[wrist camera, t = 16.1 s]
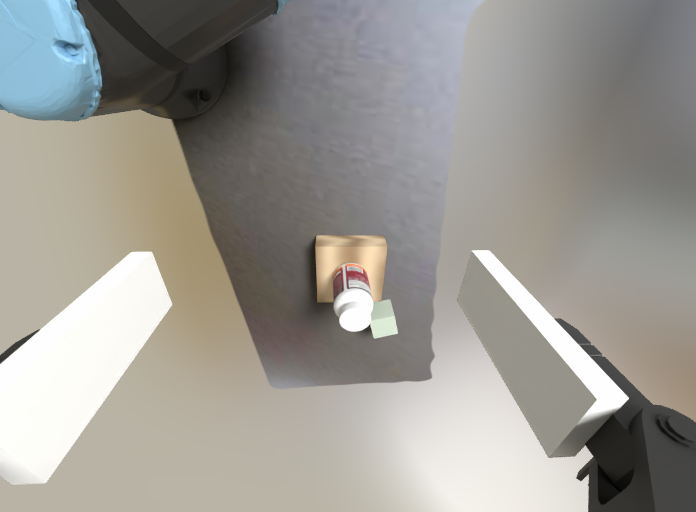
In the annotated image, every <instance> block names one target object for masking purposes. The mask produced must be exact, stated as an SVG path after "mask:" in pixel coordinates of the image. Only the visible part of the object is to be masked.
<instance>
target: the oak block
mask: <svg viewBox="0 0 696 512" xmlns="http://www.w3.org/2000/svg"><path fill="white" fill-rule="evenodd" d="M315 249H316V276H317V302H334V300H333V274H334V272H335V270H336V269H337V268H338V267H339V266H341V265H343V264H346V263H356V264H359V265H361V266H362V267H363V268H364V269H365V270H366V272H367V275H368V280H369V284H370V289H371V294H372V299H373V302H381V297H382V288H383V280H384V271H385V263H386V254H387V244H386V241H385V238H384V236H316V246H315Z"/></svg>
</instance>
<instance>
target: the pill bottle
mask: <svg viewBox="0 0 696 512" xmlns="http://www.w3.org/2000/svg"><path fill="white" fill-rule="evenodd" d="M333 300H334V311H335V313H336V315H337V316H338V317H339V322H340V325H341V326H342V327H343V328H344V329H346V330H348V331H353V332H355V331H361V330H363V329H365V328H366V327H368V326H369V324H370V322H371V312H372V310H373V299H372V294H371V289H370V284H369V280H368V275H367V272H366V270H365V269H364V268H363V267H362V266H361V265H359V264H356V263H346V264H343V265H341V266H339V267H338V268H337V269H336V270H335V272H334V274H333Z"/></svg>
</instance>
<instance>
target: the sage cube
mask: <svg viewBox="0 0 696 512" xmlns="http://www.w3.org/2000/svg"><path fill="white" fill-rule="evenodd" d="M370 326H371V329H372V333H373V337H374V338H379V337H383V336H388V335H393V334H398V330H397V326H396V321H395V316H394V312H393V309H392V305H391V301H390V299H389V300H384V301H381V302H375V303H373V310H372V312H371V322H370Z"/></svg>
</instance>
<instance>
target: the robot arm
mask: <svg viewBox="0 0 696 512" xmlns="http://www.w3.org/2000/svg"><path fill="white" fill-rule="evenodd" d="M290 1H291V0H0V109H1V110H5V111H7V112H9V113H13V114H15V115H17V116H20V117H24V118H28V119H34V120H64V121H79V120H81V119H87V118H88V117H91V116H98V115H105V114H111V113H118V112H125V111H131V110H138V109H141V110H143V111H145V112H147V113H150V114H152V115H155V116H159V117H163V118H168V119H185V118H190V117H194V116H197V115H200V114H202V113H204V112H206V111H207V110H209V109H210V108H211V107H212V106H213V105H214V104H215V103H216V102H217V101H218V99H219V98H220V96H221V94H222V92H223V90H224V87H225V84H226V79H227V70H228V62H227V53H226V47H225V43H227V42H229V41H230V40H232V39H233V38H235V37H236V36H238V35H240V34H241V33H243V32H244V31H246V30H247V29H249V28H251V27H252V26H254V25H255V24H257V23H258V22H260V21H262V20H263V19H265V18H266V17H268V16H269V15H271V14H273V15H277V14H279V13H280V11H281V10H282V9H283V7H284V5H285V4H287V3H288V2H290ZM457 301H458V303H459V305H460V306H461V308H462V310H463V312H464V313H465V315H466V317H467V318H468V320H469V322H470V324H471V325H472V327H473V329H474V330H475V332H476V334H477V335H478V337H479V339H480V341H481V343H482V344H483V346H484V348H485V349H486V351H487V353H488V354H489V356H490V358H491V360H492V361H493V363H494V365H495V366H496V368H497V370H498V372H499V373H500V375H501V377H502V379H503V380H504V382H505V384H506V385H507V387H508V389H509V391H510V392H511V394H512V396H513V397H514V399H515V401H516V403H517V404H518V406H519V407H520V409H521V411H522V413H523V415H524V416H525V418H526V420H527V421H528V423H529V425H530V427H531V428H532V430H533V432H534V433H535V435H536V437H537V439H538V440H539V442H540V444H541V446H542V447H543V449H544V451H545V452H546V454H547V456H548V457H549V458H552V457H571V456H575V455H576V454H577V453H578V452H579V451H580V450H581V449H582V448H583V447H584V446H585V445H586V446H587V448H588V449H589V451H590V452H591V454H592V455H593V456H594V457H593V458H592V459H591V460H590V461H589V462H588V463H587V464H586V465H585V466H584V467H583V468H582V469H581V470H580V471H579V472H578V475H577V479H578V480H580V481H582V480H583V479H584V478H585V477H586V476H587V475H588V474H589V484H588V486H589V503H588V504H589V505H588V512H696V423H695V422H694V421H693V420H691V419H690V418H688V417H686V416H685V415H683V414H681V413H679V412H677V411H675V410H673V409H670V408H667V407H664V406H661V405H653V404H652V403H651V402H650V401H649V400H647V399H646V398H645V397H644V396H643V395H642V394H641V393H640V392H639V391H638V390H637V389H636V388H635V387H634V386H633V385H632V384H631V383H630V382H629V381H628V380H627V379H626V378H625V377H624V376H623V375H622V374H621V373H620V372H619V371H618V370H617V369H616V368H615V367H614V366H613V365H612V364H611V363H610V362H609V361H608V360H607V359H606V358H605V357H602V354H601V353H600V352H599V351H598V350H597V349H596V348H595V347H594V346H592V345H591V343H590V342H589V341H588V340H587V339H586V338H585V337H584V336H583V335H582V334H581V333H580V332H579V331H578V330H577V329H576V328H574V327H573V326H571V325H570V324H568V323H566V322H565V321H564V320H562V319H554V318H553V317H552V316H551V315H550V314H548V312H547V311H546V310H545V309H544V308H543V307H542V306H541V305H540V304H539V303H538V302H537V301H536V300H535V298H534V297H533V296H532V295H531V294H530V293H529V292H528V291H527V290H526V289H525V288H524V287H523V286H522V285H521V284H520V283H519V282H518V280H517V279H516V278H515V277H514V276H513V275H512V274H511V273H510V272H509V271H508V270H507V269H506V268H505V267H504V266H503V265H502V264H501V263H500V262H499V260H498V259H497V258H495V256H494V255H493V254H492V253H491V252H490V251H472V252H471V255H470V259H469V262H468V265H467V269H466V272H465V275H464V278H463V282H462V285H461V289H460V292H459V295H458V298H457ZM171 306H172V302H171V300H170V298H169V295H168V292H167V289H166V287H165V284H164V282H163V279H162V277H161V274H160V272H159V269H158V266H157V264H156V261H155V259H154V256H153V254H152V252H131V253H130V254H129V255H128V256H126V257H125V258H124V259H123V260H122V261H121V262H119V263H118V264H117V265H116V266H115V267H114V268H112V269H111V270H110V271H109V272H108V273H106V274H105V275H104V276H103V277H102V278H101V279H100V280H98V281H97V282H96V283H95V284H94V285H92V286H91V287H90V288H89V289H88V290H87V291H85V292H84V293H83V294H82V295H81V296H80V297H78V298H77V299H76V300H75V301H74V302H73V303H71V304H70V305H69V306H68V307H67V308H66V309H64V310H63V311H62V312H61V313H60V314H59V315H57V316H56V317H55V318H54V319H53V320H51V321H50V322H49V323H48V324H47V325H46V326H44V327H43V328H42V329H41V330H37V331H35V332H33V333H32V334H30V335H28V336H26V337H25V338H23V339H21V340H20V341H18V342H16V343H15V344H13V345H12V346H11V347H10V348H9V349H7V350H6V351H5V352H4V353H3V354H1V355H0V476H1V477H3V478H4V479H5V480H7V481H8V482H10V483H11V484H12V485H18V484H37V483H46V482H47V481H48V479H49V478H50V476H51V475H52V474H53V472H54V471H55V469H56V468H57V466H58V465H59V463H60V462H61V461H62V459H63V458H64V457H65V455H66V454H67V452H68V451H69V450H70V448H71V447H72V445H73V444H74V442H75V441H76V440H77V438H78V437H79V435H80V434H81V433H82V431H83V430H84V428H85V427H86V426H87V424H88V423H89V421H90V420H91V418H92V417H93V416H94V414H95V413H96V412H97V410H98V409H99V407H100V406H101V405H102V403H103V402H104V400H105V399H106V397H107V396H108V395H109V393H110V392H111V390H112V389H113V388H114V386H115V385H116V383H117V382H118V381H119V379H120V378H121V376H122V375H123V374H124V372H125V371H126V369H127V368H128V366H129V365H130V364H131V362H132V361H133V359H134V358H135V357H136V355H137V354H138V352H139V351H140V349H141V348H142V347H143V345H144V344H145V342H146V341H147V340H148V338H149V337H150V335H151V334H152V333H153V331H154V330H155V328H156V327H157V326H158V324H159V323H160V321H161V320H162V319H163V317H164V316H165V314H166V313H167V312H168V310H169V309H170V307H171Z"/></svg>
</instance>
